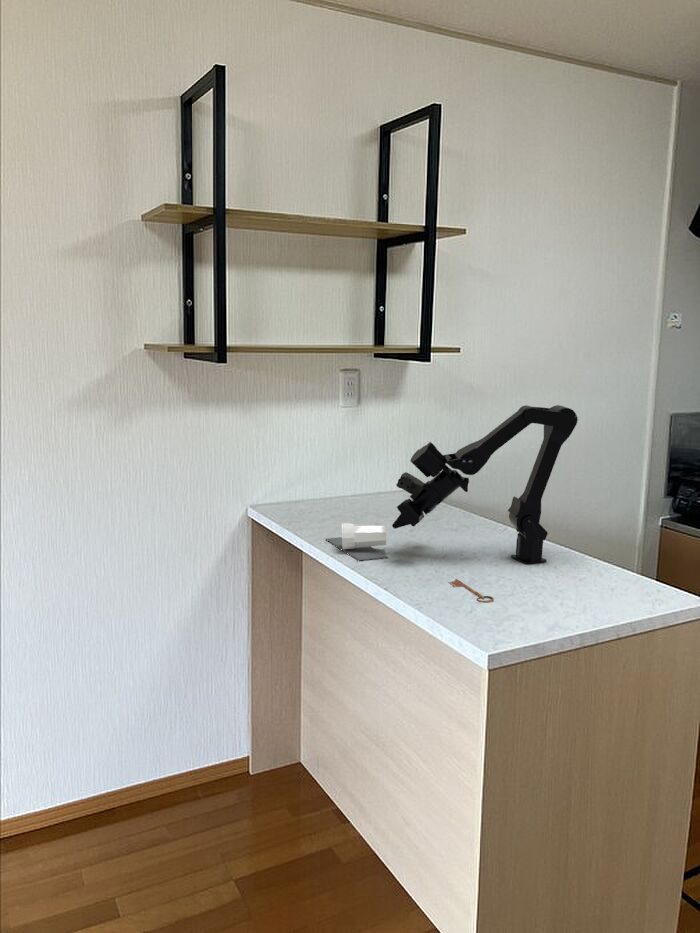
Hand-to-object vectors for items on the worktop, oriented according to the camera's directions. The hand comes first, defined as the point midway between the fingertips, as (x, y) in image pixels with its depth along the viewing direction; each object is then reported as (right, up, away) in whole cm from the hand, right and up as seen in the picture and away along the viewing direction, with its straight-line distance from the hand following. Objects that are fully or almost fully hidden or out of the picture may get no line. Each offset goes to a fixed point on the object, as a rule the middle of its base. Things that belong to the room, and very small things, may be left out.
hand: (393, 526), depth 208 cm
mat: (-10, -6, +4) cm, 12 cm away
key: (+15, -13, -26) cm, 33 cm away
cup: (-2, -2, +1) cm, 3 cm away
